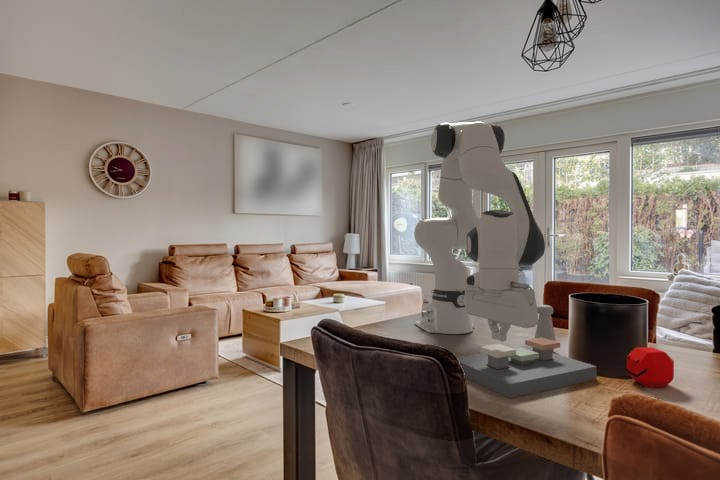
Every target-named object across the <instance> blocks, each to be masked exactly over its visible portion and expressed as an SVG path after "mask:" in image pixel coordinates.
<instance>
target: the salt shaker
mask: <svg viewBox="0 0 720 480" xmlns="http://www.w3.org/2000/svg"><path fill="white" fill-rule="evenodd" d="M537 311H538V323H537V325H536V330H535V334H534V338H541V337H542V338H546V339H549V340H553V341H557V340H556V334H555V329H554V323H553V318H552V315H553V314H554V308H553V307H552V306H551V305H548V304H539V305H538V306H537ZM555 349H556V348H554V349H553V352H554V351H555Z"/></svg>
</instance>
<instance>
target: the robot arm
mask: <svg viewBox="0 0 720 480" xmlns="http://www.w3.org/2000/svg"><path fill="white" fill-rule="evenodd" d="M504 131H505V130H503V128H502V127H501V125H497V124H494V123H486V122H483V121H474V122H472V121H471V122H470V121H468V122H453V123H450V122H442V123H438V124H437V125H436V126H435V128H434V129H433V132H432V133H431V137H430V138H431V139H430V146H431V148H432V152H433V155H435V156H436V157H438V158H442V161H441V162H442V163H441V167H440V175H439V184H438V185H439V186H438V196H437V197H438V200H439V202H440V203H441V204H442V205H443V206H445V207H447V208H448V209H450V210H451V217H430V218H424V219H421V220H419V221H418V222H417V224H416V226H415V228H414V232H413V233H414V234H413V235H414V240H415V242H416V244H417V246H419V247H420V248H421V249H423V250H424V251H425V252H426V254H427V255H428V256H429V258H430V260H431V262H432V266H433V271H434V289H431V290H430V291H431V292H430V293H431V294H432V295H431V300H430V301H428V303H426V304H425V305H424V306H423V307H422V308H421V313H420V319H417V320H415V321H414V325H415V326H417V327H419V328H421V329H422V330H424V331H425V332H427V333H431V334H445V335H461V334H469V333H471V332H473V331H474V328H475V324H474V323H473V320H472V319H473V318H472V316H474V317H479V318H482V319H487V324H488V327H489V330H490V332H491V339H492V340H494V341H498V342H506V341H507V334H508V332H509V330H510V329H511V326H513V327H514V326H515V327H519V328H523V329H529V328H534V327H535V328H536V327H537V324H538V319H539V314H538V311H537V307H538V306H537V299H536V293H535V290H534V289H533V288H532V287H531V286H530V284H529V283H521V282H520V279H519V278H520V275H519V274H520V272H519V271H520V270H519V265H521V266H532V265H534V264H535V263H537V262H538V261H539V260H540V259H541V258H542V257H543V256H544V254H545V249H546V243H545V238H544V235H543V232H542V230H541V228H540V227H539V225H538V223H537V222H536V219H535V217H534V214H533V212H532V210H531V209H532V208H531V207H530V204H529V201H528V198H527V196H526V193H525V191H524V188H523V186H522V183H521V181H520V178H519V177H518V175H517V173H516V172H514V171H512V170H510V169H509V168H508V167H507V166H506V165H505V163H504V162H503V160H502V158H501V153H502V152H503V150H504V146H505V136H506V135H505V132H504ZM473 189H474V190H476V191H478V192H483V193H486V194H490V195H493V196H496V197H498V198H499V199H501V200H503V201H504V202H505V203H506V204H507V207H508V209H509V211H508V210H502V209H501V210H500V209H493V210H485V211H483V212H482V213H481V214H480V217H479V216H478V214H477V213H476V211H475V207H474V204H473V191H474V190H473ZM453 250H466V255H467V256H468V258H469V259H471V260H472V262H474V263H476V264H477V263H478V271H477V272H475V273H472V274H469V275H468V267H467V266H466V264H465V263H463V261H460V260H459V259H457V258H455V257H454V255H453ZM499 327H500V328H499Z"/></svg>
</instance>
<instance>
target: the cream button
mask: <svg viewBox="0 0 720 480" xmlns="http://www.w3.org/2000/svg"><path fill="white" fill-rule="evenodd" d="M513 348H514V347H510V346H506V345H503V344H500V343H495V344H489V345H482V346H480V348H479V349H480V350H479V351H480V353H485V354H488V365H489V366H491V367H494V368H496V369H501V368H506V367H508V356H513V355H516V349H513Z"/></svg>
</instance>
